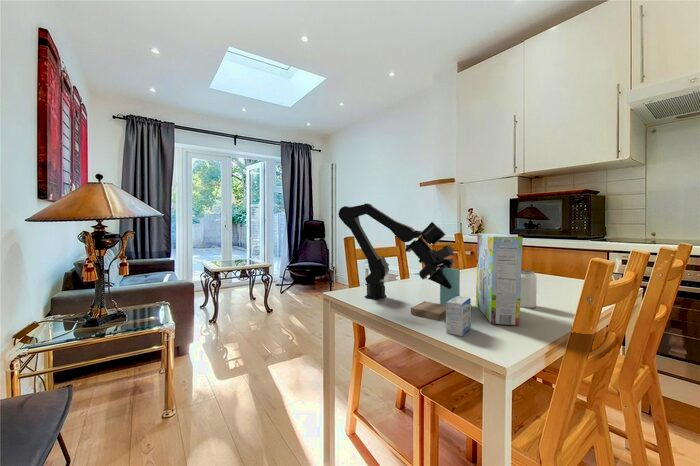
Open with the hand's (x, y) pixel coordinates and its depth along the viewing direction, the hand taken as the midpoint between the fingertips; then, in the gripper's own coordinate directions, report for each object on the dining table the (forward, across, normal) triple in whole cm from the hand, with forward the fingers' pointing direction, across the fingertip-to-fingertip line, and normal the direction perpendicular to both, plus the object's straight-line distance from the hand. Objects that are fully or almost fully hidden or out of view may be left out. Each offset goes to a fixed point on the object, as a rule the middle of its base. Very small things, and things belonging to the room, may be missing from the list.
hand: (453, 286), depth 104 cm
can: (+19, +17, -8) cm, 26 cm away
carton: (+4, 0, +6) cm, 7 cm away
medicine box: (+12, -21, -1) cm, 24 cm away
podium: (+3, -11, +7) cm, 14 cm away
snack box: (+15, 0, -4) cm, 15 cm away
